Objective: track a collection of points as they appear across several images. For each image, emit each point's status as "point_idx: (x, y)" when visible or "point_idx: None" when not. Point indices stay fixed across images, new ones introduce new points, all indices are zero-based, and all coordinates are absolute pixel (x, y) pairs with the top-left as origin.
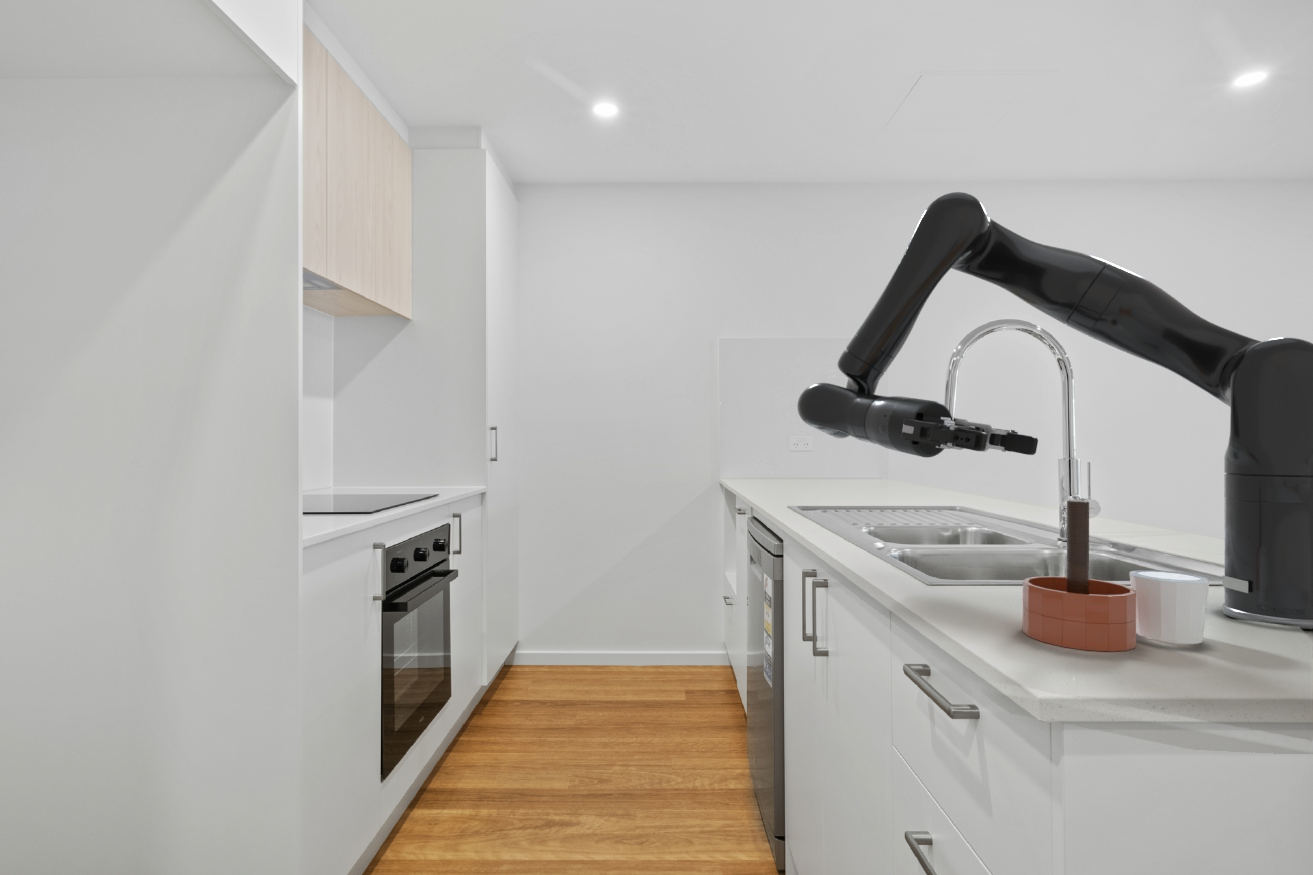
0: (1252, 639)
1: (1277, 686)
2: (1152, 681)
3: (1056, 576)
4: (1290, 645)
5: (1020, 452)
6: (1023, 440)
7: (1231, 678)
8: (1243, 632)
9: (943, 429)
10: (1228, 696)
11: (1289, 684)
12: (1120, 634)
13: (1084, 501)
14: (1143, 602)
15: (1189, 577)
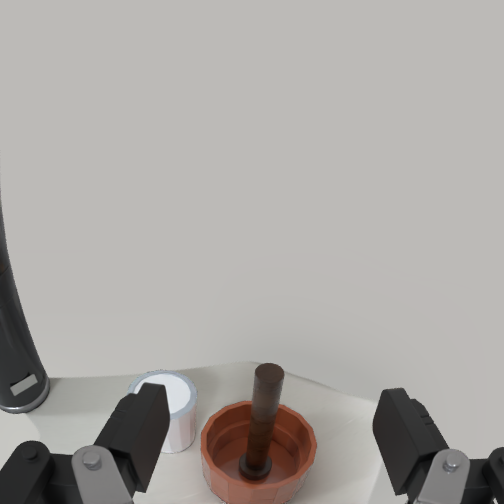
0: (103, 397)
1: (235, 370)
2: (301, 402)
3: (224, 477)
4: (105, 380)
5: (161, 446)
6: (156, 416)
7: (243, 385)
8: (81, 403)
9: (476, 469)
10: (285, 375)
11: (223, 368)
12: None
13: (267, 366)
14: (193, 420)
15: (152, 382)
